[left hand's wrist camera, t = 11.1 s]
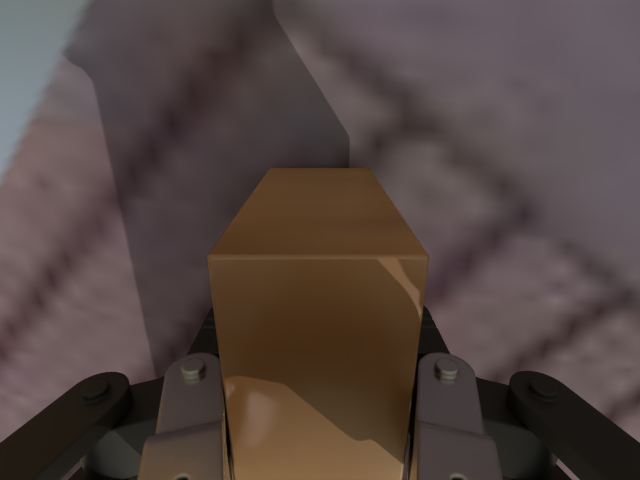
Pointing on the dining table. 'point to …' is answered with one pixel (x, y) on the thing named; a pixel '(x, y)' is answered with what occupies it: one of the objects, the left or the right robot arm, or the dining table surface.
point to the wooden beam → (318, 327)
